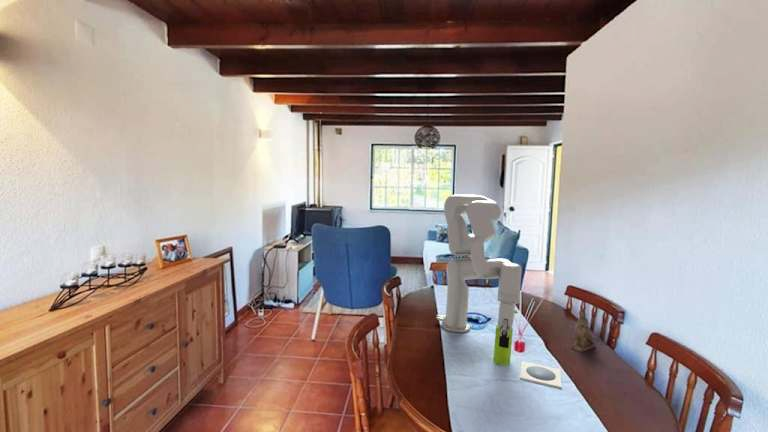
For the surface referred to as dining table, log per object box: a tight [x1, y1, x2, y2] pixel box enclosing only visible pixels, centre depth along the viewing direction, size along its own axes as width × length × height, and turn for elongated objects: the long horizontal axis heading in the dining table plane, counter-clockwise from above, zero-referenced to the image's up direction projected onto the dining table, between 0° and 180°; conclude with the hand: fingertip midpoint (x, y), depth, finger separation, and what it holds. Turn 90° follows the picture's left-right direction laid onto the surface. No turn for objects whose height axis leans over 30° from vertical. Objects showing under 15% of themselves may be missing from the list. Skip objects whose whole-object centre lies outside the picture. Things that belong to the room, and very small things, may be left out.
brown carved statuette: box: [570, 310, 596, 353], centre depth 157 cm, size 12×6×18 cm, turn 121°
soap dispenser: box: [493, 310, 518, 366], centre depth 141 cm, size 6×7×20 cm
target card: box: [519, 360, 563, 390], centre depth 134 cm, size 13×13×1 cm
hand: (504, 342), depth 142 cm, fingers open, 9 cm apart
